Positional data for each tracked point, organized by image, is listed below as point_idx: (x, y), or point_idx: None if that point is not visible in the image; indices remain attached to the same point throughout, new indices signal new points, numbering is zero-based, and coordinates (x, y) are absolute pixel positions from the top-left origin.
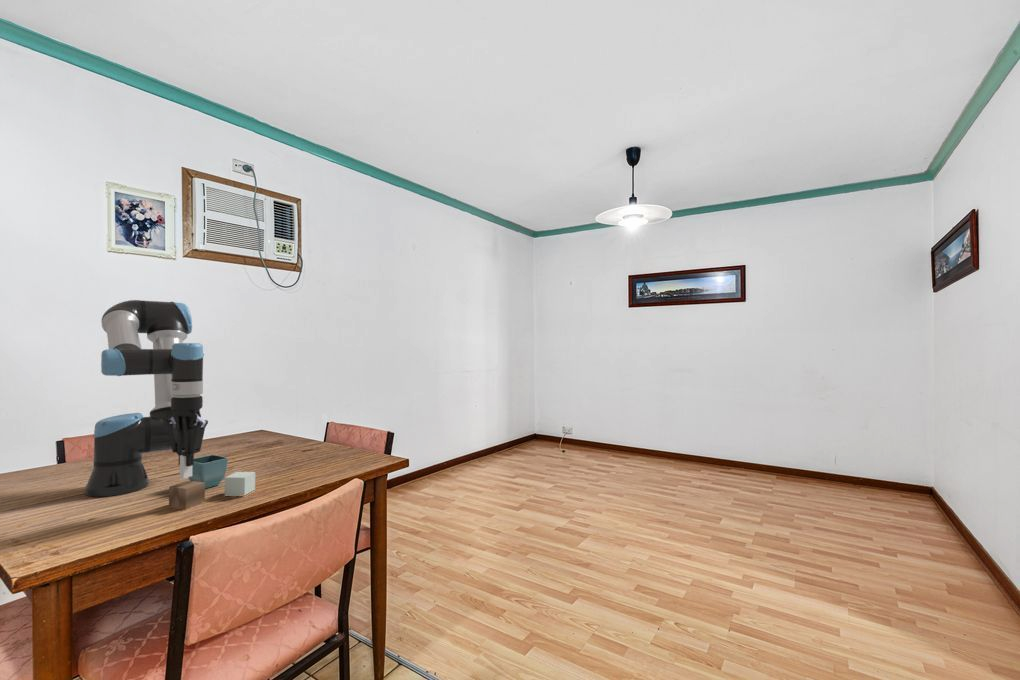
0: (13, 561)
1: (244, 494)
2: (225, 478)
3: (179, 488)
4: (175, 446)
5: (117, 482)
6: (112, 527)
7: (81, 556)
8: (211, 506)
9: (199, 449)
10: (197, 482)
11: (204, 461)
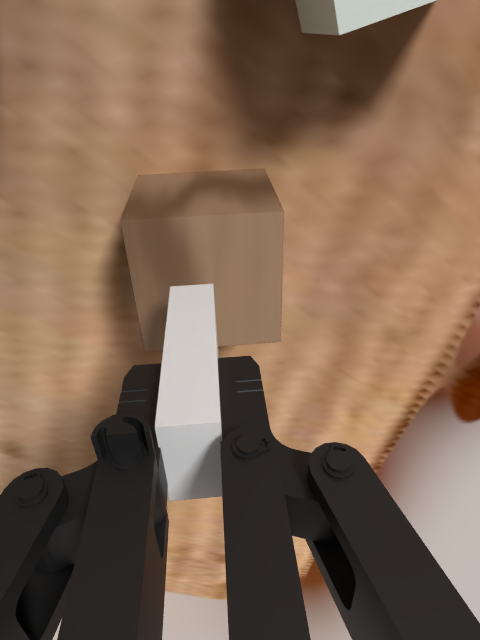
0: (186, 590)
1: None
2: (342, 33)
3: (229, 344)
4: (64, 604)
5: None
6: None
7: (305, 548)
8: (355, 204)
9: (371, 482)
10: (232, 232)
11: None
